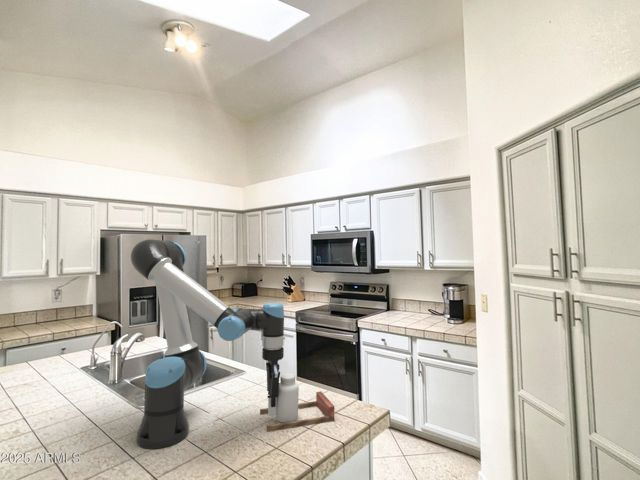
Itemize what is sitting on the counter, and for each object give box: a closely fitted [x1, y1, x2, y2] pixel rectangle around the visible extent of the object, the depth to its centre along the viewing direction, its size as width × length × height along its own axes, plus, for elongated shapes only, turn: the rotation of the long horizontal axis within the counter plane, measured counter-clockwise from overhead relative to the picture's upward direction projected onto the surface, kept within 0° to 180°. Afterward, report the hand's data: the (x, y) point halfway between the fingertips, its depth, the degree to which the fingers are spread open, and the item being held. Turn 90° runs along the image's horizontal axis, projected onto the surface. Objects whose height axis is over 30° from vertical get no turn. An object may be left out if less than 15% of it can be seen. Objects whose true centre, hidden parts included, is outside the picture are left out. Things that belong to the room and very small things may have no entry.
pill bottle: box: [275, 373, 300, 423], centre depth 122 cm, size 8×8×15 cm
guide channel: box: [259, 391, 335, 433], centre depth 123 cm, size 24×14×5 cm, turn 109°
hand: (272, 414), depth 120 cm, fingers closed
